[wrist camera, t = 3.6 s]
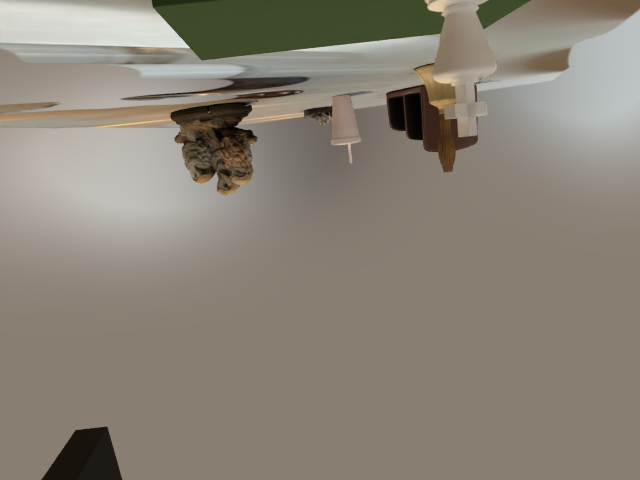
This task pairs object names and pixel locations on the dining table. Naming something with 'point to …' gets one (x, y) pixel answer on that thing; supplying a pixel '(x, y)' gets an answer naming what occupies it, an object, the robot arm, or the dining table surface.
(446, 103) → the hand bell
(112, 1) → the dining table surface
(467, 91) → the chess piece
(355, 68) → the dining table surface
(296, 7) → the sponge pad
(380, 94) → the dining table surface
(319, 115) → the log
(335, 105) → the smoothie
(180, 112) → the owl figurine
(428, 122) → the letter holder
